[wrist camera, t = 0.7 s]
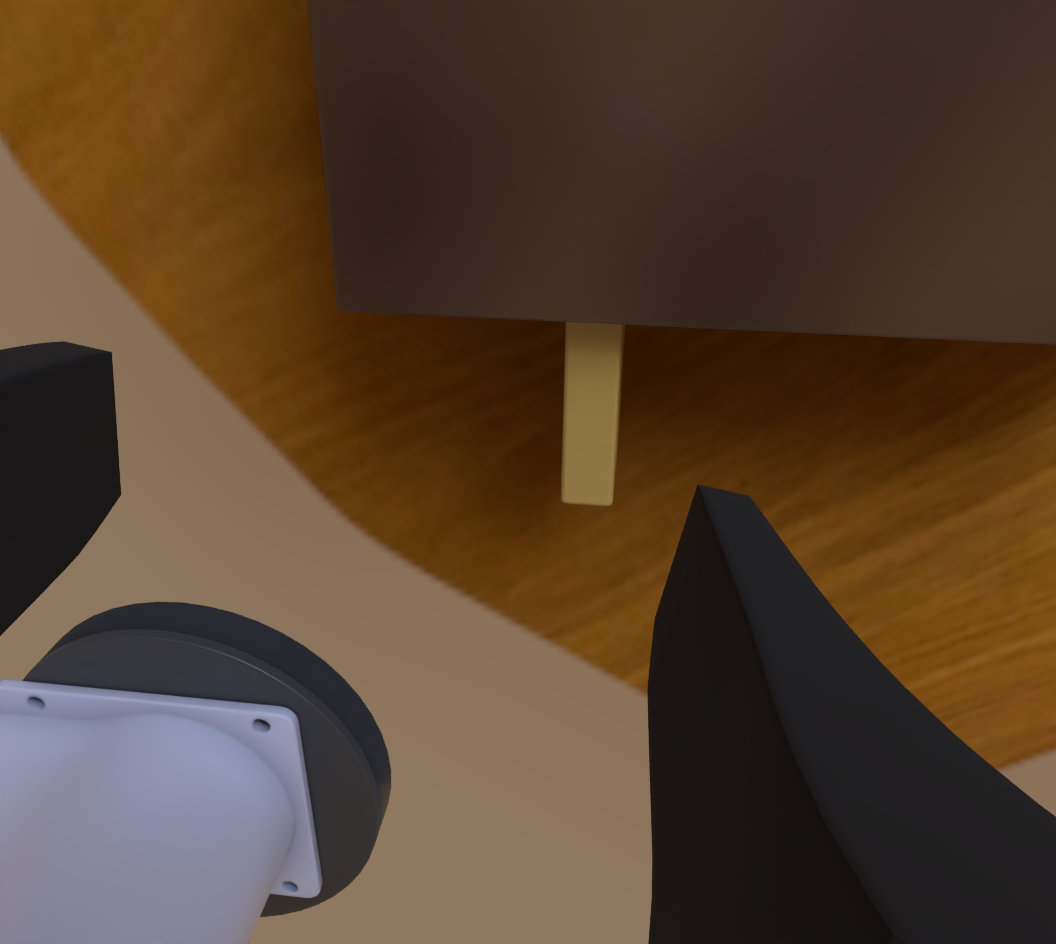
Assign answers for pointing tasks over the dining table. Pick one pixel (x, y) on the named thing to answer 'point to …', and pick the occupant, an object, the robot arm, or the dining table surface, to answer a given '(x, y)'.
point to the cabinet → (695, 163)
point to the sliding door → (591, 411)
